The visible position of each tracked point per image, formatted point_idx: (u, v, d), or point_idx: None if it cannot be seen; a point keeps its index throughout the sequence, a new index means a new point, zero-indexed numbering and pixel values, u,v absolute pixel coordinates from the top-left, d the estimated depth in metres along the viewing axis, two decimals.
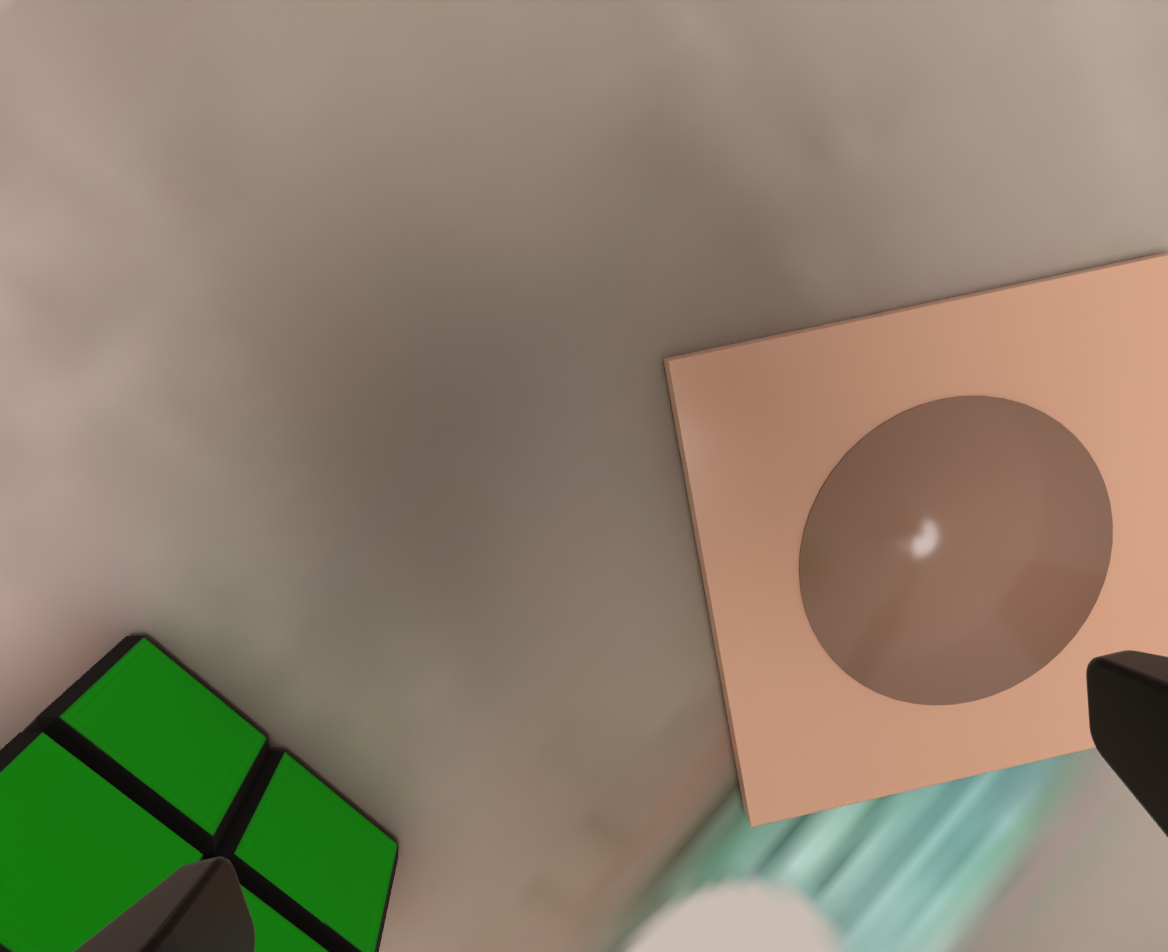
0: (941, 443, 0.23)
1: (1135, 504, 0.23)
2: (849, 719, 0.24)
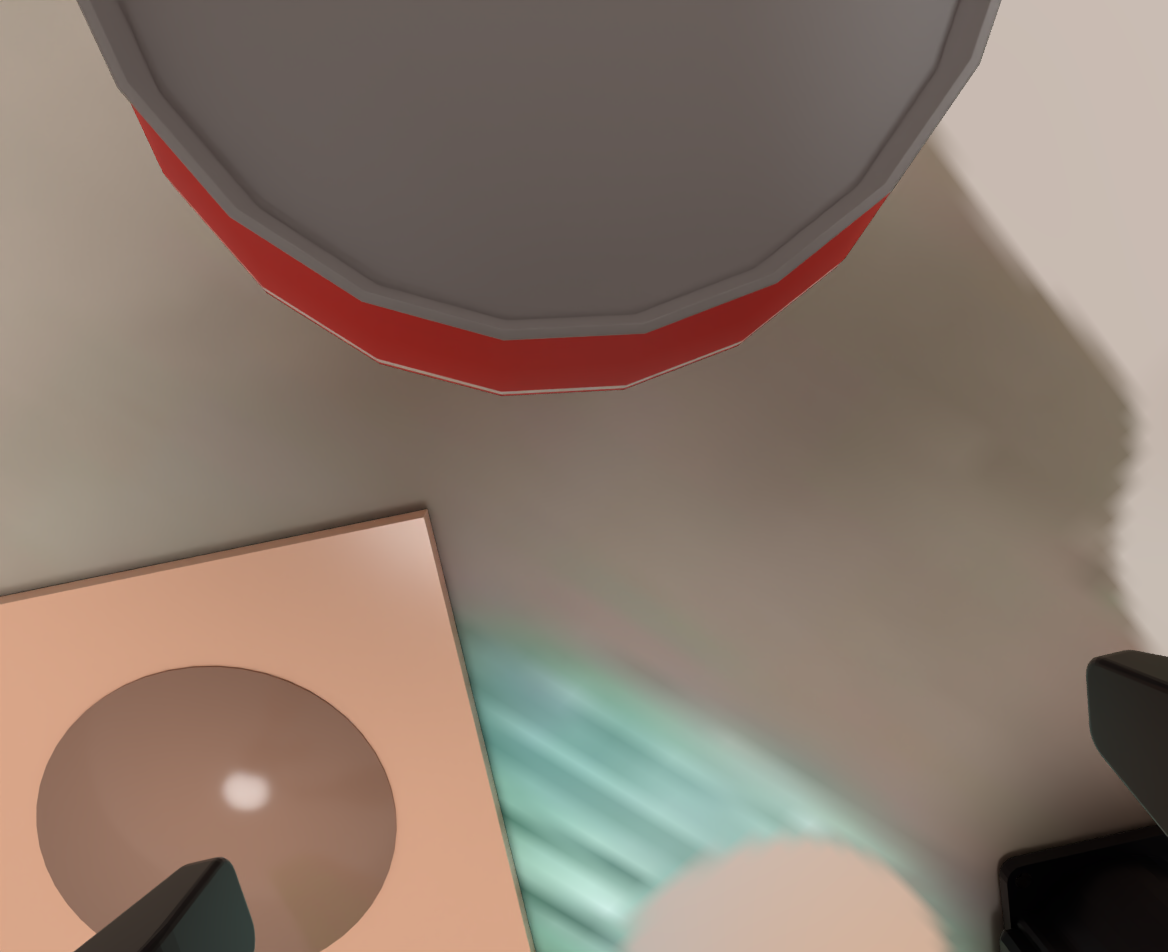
0: (92, 861, 0.22)
1: (145, 645, 0.21)
2: (414, 908, 0.23)
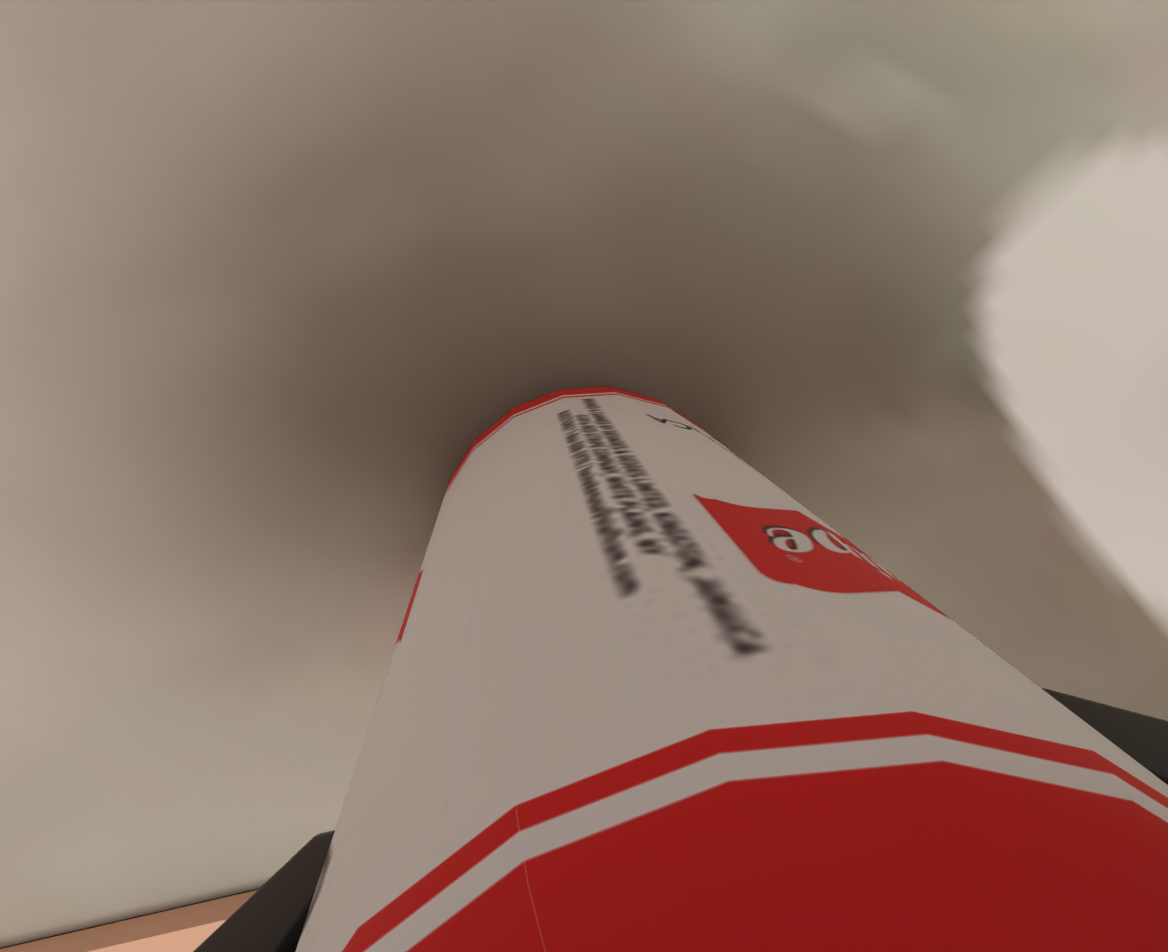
0: None
1: None
2: None
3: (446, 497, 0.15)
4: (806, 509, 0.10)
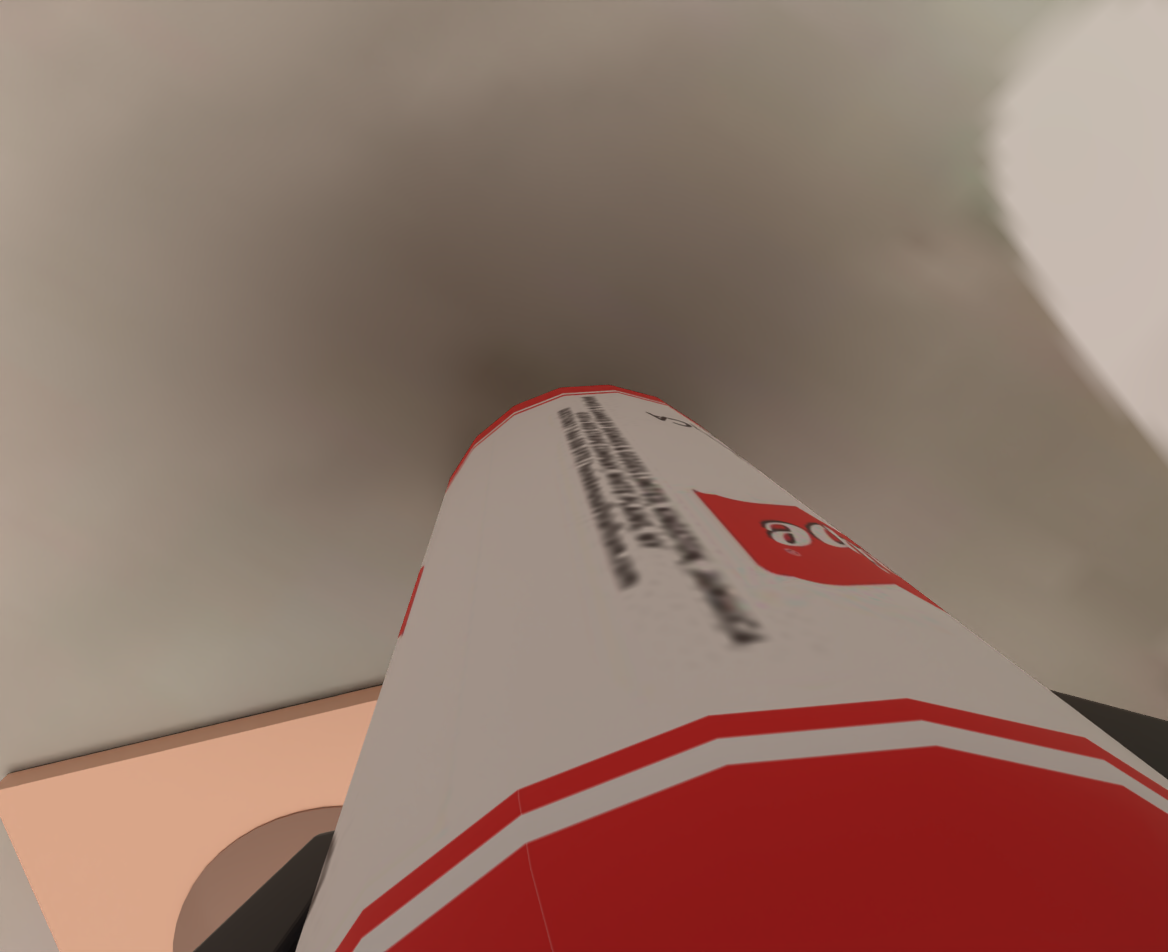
0: None
1: (278, 788, 0.21)
2: None
3: (447, 494, 0.15)
4: None
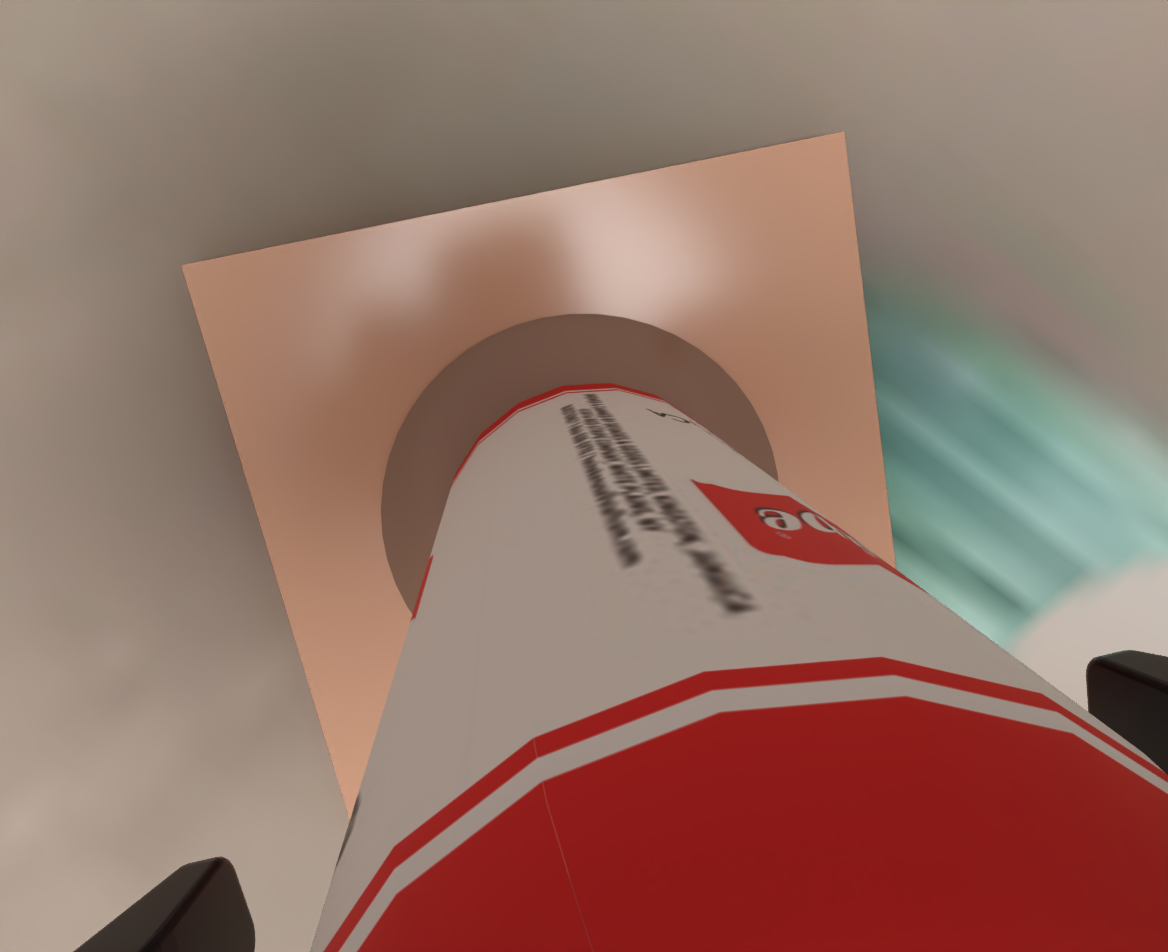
0: None
1: (519, 285, 0.18)
2: None
3: (453, 489, 0.15)
4: (798, 497, 0.11)
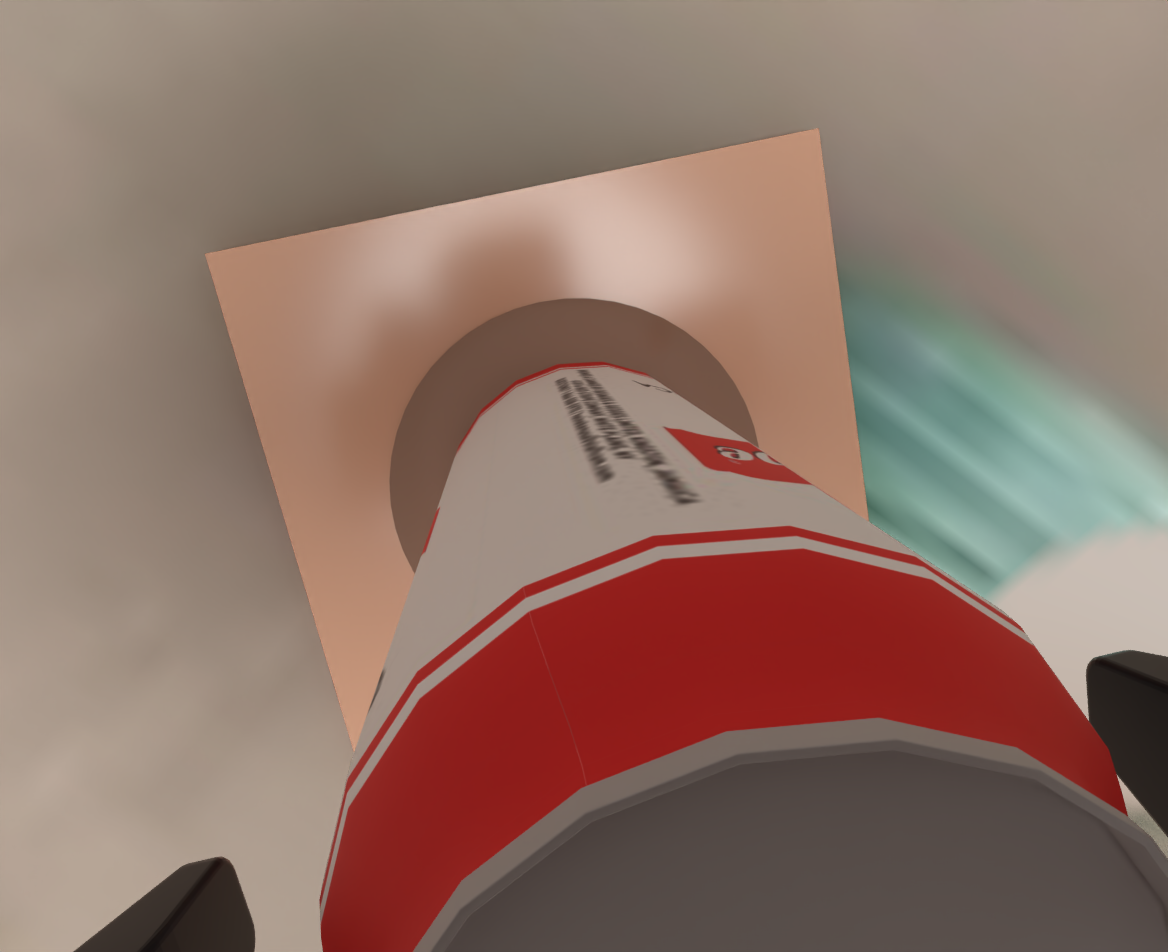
0: None
1: (517, 271, 0.19)
2: None
3: (457, 456, 0.17)
4: None
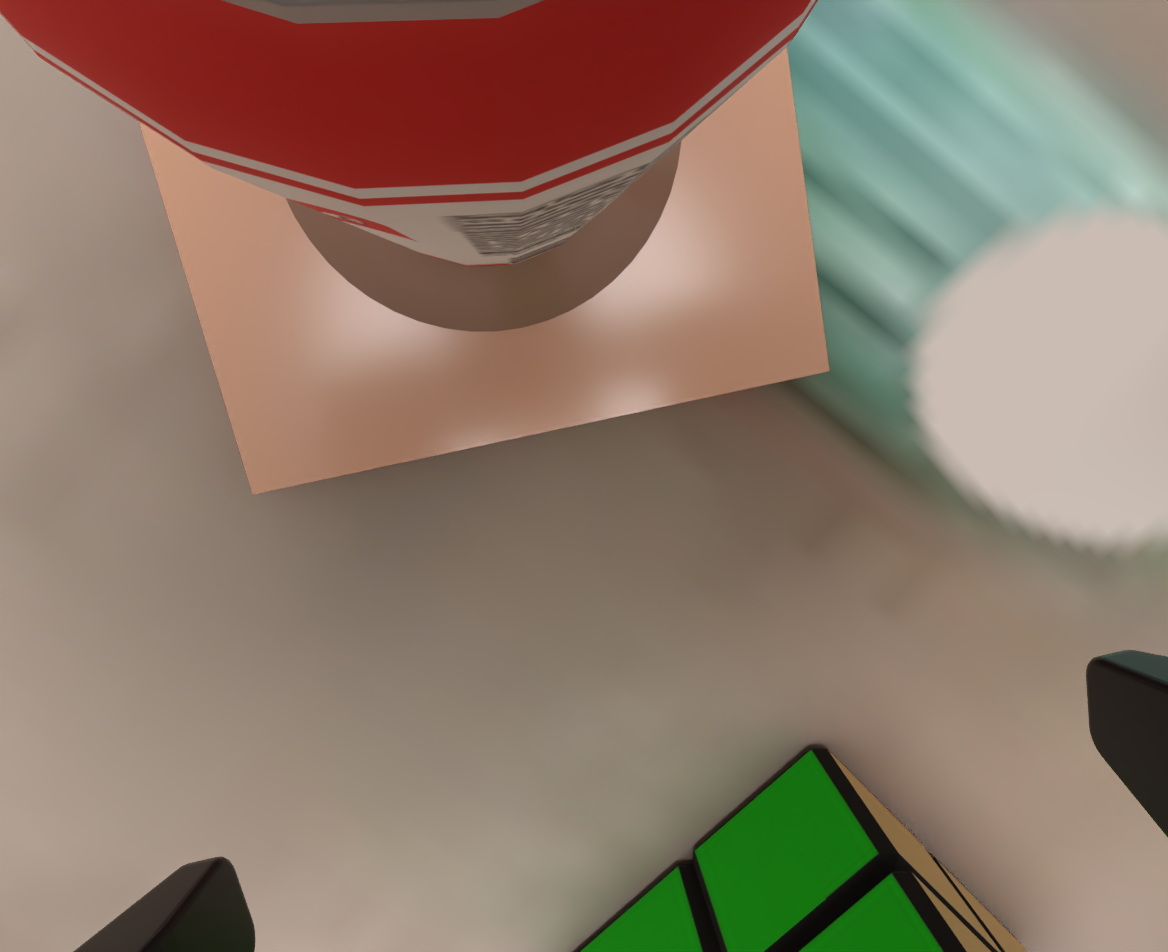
0: None
1: None
2: (694, 252, 0.19)
3: None
4: None
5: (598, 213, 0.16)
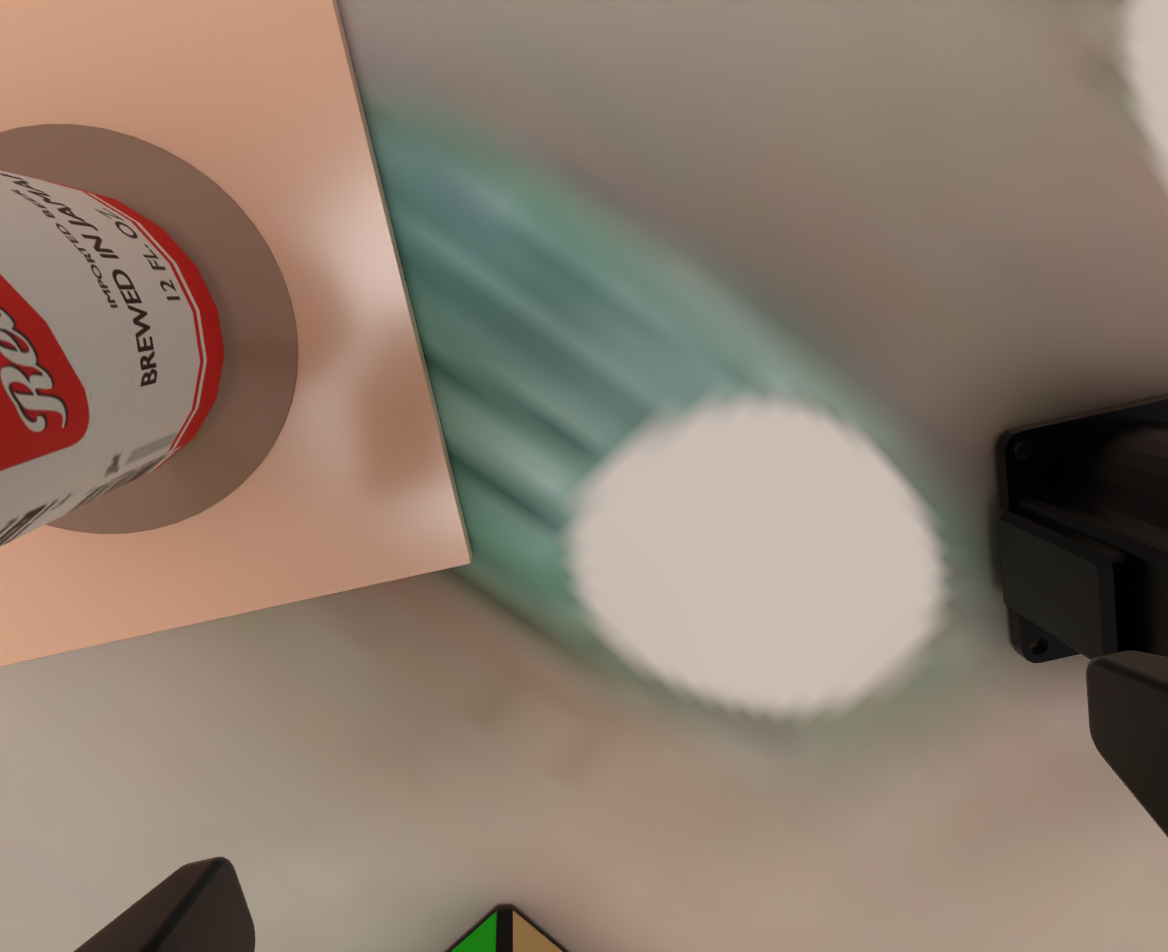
0: None
1: None
2: (322, 455, 0.20)
3: None
4: None
5: (143, 464, 0.16)
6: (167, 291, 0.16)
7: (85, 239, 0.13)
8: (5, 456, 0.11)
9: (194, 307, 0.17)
